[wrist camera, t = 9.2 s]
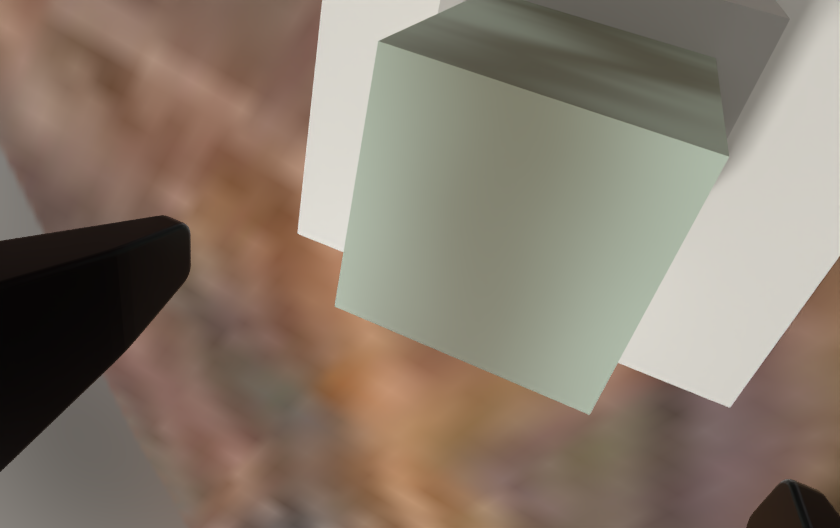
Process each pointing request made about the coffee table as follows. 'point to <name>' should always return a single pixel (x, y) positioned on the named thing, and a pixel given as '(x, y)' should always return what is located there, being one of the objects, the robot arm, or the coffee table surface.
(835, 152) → the white square pedestal base
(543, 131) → the sage block
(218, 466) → the coffee table surface
